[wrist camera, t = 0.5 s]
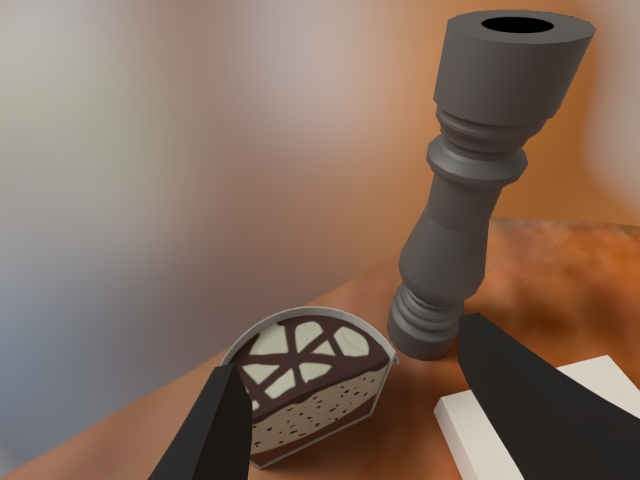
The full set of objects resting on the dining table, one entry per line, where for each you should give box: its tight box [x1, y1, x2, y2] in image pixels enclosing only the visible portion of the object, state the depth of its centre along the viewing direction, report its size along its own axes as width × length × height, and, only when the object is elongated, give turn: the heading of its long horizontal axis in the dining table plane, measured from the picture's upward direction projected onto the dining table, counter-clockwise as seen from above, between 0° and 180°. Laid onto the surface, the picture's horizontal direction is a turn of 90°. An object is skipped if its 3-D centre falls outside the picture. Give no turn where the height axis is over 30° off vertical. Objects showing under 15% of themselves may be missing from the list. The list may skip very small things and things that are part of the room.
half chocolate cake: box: [219, 306, 400, 470], centre depth 24 cm, size 12×6×10 cm, turn 113°
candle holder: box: [387, 10, 596, 361], centre depth 23 cm, size 6×6×25 cm
